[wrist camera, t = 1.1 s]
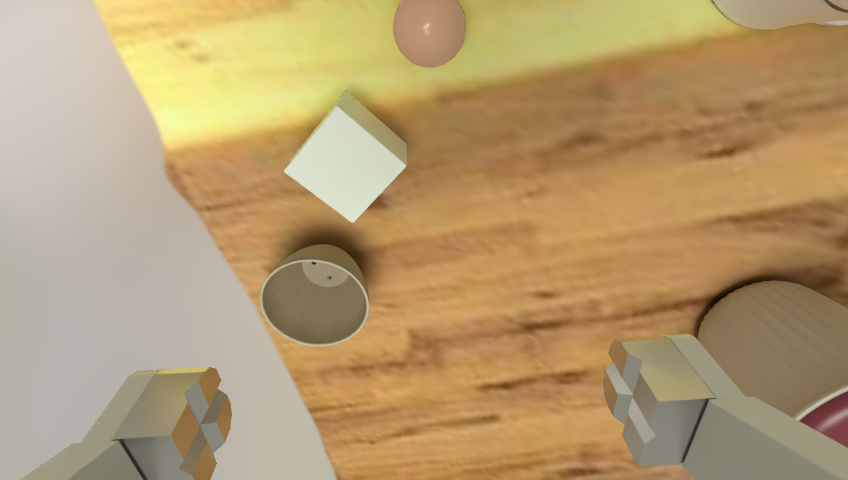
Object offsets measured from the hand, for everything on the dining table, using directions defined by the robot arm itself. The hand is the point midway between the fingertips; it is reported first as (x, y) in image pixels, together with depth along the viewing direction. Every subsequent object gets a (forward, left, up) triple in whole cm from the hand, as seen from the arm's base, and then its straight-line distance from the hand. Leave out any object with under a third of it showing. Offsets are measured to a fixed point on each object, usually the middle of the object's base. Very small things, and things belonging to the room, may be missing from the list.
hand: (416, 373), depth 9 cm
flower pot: (+20, +6, -33) cm, 39 cm away
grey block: (+8, 0, -33) cm, 34 cm away
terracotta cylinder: (-4, -2, -33) cm, 33 cm away
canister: (-7, +48, -33) cm, 59 cm away
